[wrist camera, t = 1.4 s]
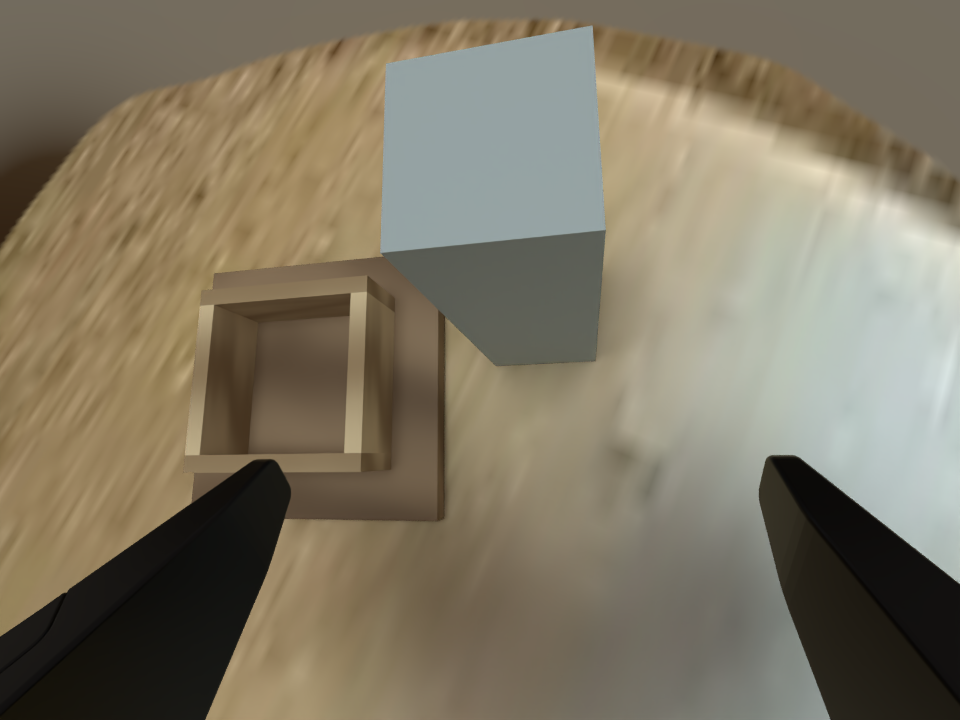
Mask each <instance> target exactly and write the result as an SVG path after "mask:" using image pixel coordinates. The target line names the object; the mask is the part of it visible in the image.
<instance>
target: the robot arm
mask: <svg viewBox="0 0 960 720" xmlns="http://www.w3.org/2000/svg"><path fill="white" fill-rule="evenodd" d="M290 499H291V487H290V484H289V483H288V481H287V479H286V477H285V475H284V473H283V471H282V469H281V467H280V466H279V464H278V462H277V461H275V460H273V459H256V460H253V461H251V462H250V463H248V464H247V465H245V466H244V467H243V468H241V469H240V470H238V471H237V472H235V473H234V474H233V475H231V476H230V477H228V478H227V479H225V480H224V481H223V482H221V483H220V484H218V485H217V486H215V487H214V488H213V489H211V490H210V491H208V492H207V493H205V494H204V495H203V496H201V497H200V498H198V499H197V500H196V501H194V502H193V503H191V504H190V505H188V506H187V507H186V508H184V509H183V510H181V511H180V512H178V513H177V514H176V515H174V516H173V517H171V518H170V519H168V520H167V521H166V522H164V523H163V524H161V525H160V526H158V527H157V528H156V529H154V530H153V531H151V532H150V533H148V534H147V535H146V536H144V537H143V538H141V539H140V540H139V541H137V542H136V543H134V544H133V545H131V546H130V547H129V548H127V549H126V550H124V551H123V552H121V553H120V554H119V555H117V556H116V557H114V558H113V559H111V560H110V561H109V562H107V563H106V564H104V565H103V566H101V567H100V568H99V569H97V570H96V571H94V572H93V573H91V574H90V575H89V576H87V577H86V578H84V579H83V580H82V581H80V582H79V583H77V584H76V585H74V586H73V587H72V588H70V589H69V590H68V592H67V593H63V594H61V595H60V596H59V597H57V598H56V599H54V600H53V601H52V602H50V603H49V604H47V605H46V606H44V607H43V608H42V609H40V610H39V611H37V612H36V613H34V614H33V615H31V616H30V617H28V618H27V619H26V620H24V621H23V622H21V623H20V624H18V625H17V626H15V627H14V628H12V629H11V630H9V631H8V632H7V633H5V634H4V635H2V636H0V720H205V719H206V717H207V714H208V712H209V710H210V707H211V705H212V703H213V700H214V698H215V695H216V693H217V691H218V688H219V686H220V684H221V681H222V679H223V676H224V674H225V672H226V669H227V667H228V665H229V662H230V660H231V657H232V655H233V653H234V650H235V648H236V646H237V643H238V641H239V638H240V636H241V634H242V631H243V629H244V627H245V624H246V622H247V619H248V617H249V615H250V612H251V610H252V608H253V605H254V603H255V600H256V598H257V596H258V593H259V591H260V589H261V586H262V584H263V581H264V579H265V576H266V574H267V571H268V569H269V566H270V563H271V560H272V557H273V554H274V550H275V547H276V544H277V541H278V538H279V534H280V531H281V528H282V525H283V522H284V518H285V515H286V512H287V509H288V505H289V502H290ZM759 501H760V506H761V510H762V514H763V518H764V522H765V526H766V530H767V533H768V537H769V541H770V545H771V549H772V553H773V557H774V561H775V565H776V569H777V573H778V577H779V581H780V584H781V588H782V591H783V594H784V597H785V600H786V603H787V606H788V609H789V611H790V614H791V617H792V619H793V622H794V625H795V627H796V630H797V632H798V635H799V638H800V640H801V643H802V646H803V648H804V651H805V653H806V656H807V659H808V661H809V664H810V667H811V669H812V672H813V674H814V677H815V680H816V682H817V685H818V688H819V690H820V693H821V696H822V698H823V701H824V703H825V706H826V709H827V711H828V714H829V717H830V719H831V720H960V584H959V583H958V582H957V581H955V580H954V579H953V578H952V577H950V576H949V575H948V574H946V573H945V572H944V571H943V570H941V569H940V568H939V567H938V566H936V565H935V564H934V563H932V562H931V561H930V560H929V559H927V558H926V557H925V556H924V555H922V554H921V553H920V552H919V551H917V550H916V549H915V548H913V547H912V546H911V545H910V544H908V543H907V542H906V541H905V540H903V539H902V538H901V537H900V536H898V535H897V534H896V533H894V532H893V531H892V530H891V529H889V528H888V527H887V526H886V525H884V524H883V523H882V522H881V521H879V520H878V519H877V518H875V517H874V516H873V515H872V514H870V513H869V512H868V511H867V510H865V509H864V508H863V507H861V506H860V505H859V504H858V503H856V502H855V501H854V500H853V499H851V498H850V497H849V496H848V495H846V494H845V493H844V492H842V491H841V490H840V489H839V488H837V487H836V486H835V485H834V484H832V483H831V482H830V481H829V480H827V479H826V478H825V477H823V476H822V475H821V474H820V473H818V472H817V471H816V470H815V469H813V468H812V467H811V466H810V465H808V464H807V463H806V462H804V461H803V460H802V459H801V458H799V457H797V456H794V455H771V456H769V457H767V459H766V461H765V465H764V469H763V474H762V478H761V482H760V487H759Z"/></svg>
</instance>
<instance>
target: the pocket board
mask: <svg viewBox="0 0 960 720" xmlns="http://www.w3.org/2000/svg"><path fill="white" fill-rule="evenodd" d="M256 459H273V460H275V461H277V462H278V464H279V466H280V467H281V469H282V471H283V473H284V475H285V477H286V479H287V481H288V483H289V484H290V487H291V499H290V502H289V505H288V509H287V512H286V515H285V518H284V519H341V520H405V521H438V520H441V519H443V518H444V315H443V314H442V313H441V312H440V311H439V310H438V309H437V308H436V307H435V306H434V305H433V304H432V303H431V302H430V301H429V300H428V299H427V298H426V297H425V296H424V295H423V294H422V293H421V292H420V291H419V290H418V289H417V288H416V287H415V286H414V285H413V284H412V283H411V282H410V281H409V280H408V279H407V278H406V277H405V276H404V275H403V274H402V273H400V272H399V271H398V270H397V269H396V268H395V267H394V266H393V265H392V264H391V263H390V262H389V261H388V260H387V259H386V258H385V257H376V258H366V259H356V260H346V261H336V262H326V263H316V264H305V265H295V266H285V267H275V268H265V269H255V270H245V271H235V272H225V273H215V274H214V280H213V290H202V292H201V302H200V312H199V321H198V331H197V341H196V351H195V360H194V370H193V380H192V390H191V399H190V409H189V419H188V429H187V438H186V448H185V458H184V468H183V473H194V483H193V494H192V503H193V502H194V501H196V500H197V499H198V498H200V497H201V496H203V495H204V494H205V493H207V492H208V491H210V490H211V489H213V488H214V487H215V486H217V485H218V484H220V483H221V482H223V481H224V480H225V479H227V478H228V477H230V476H231V475H233V474H234V473H235V472H237V471H238V470H240V469H241V468H243V467H244V466H245V465H247V464H248V463H250V462H251V461H253V460H256Z"/></svg>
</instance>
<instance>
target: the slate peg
mask: <svg viewBox="0 0 960 720" xmlns="http://www.w3.org/2000/svg"><path fill="white" fill-rule="evenodd" d="M605 231H606V229H605V213H604V198H603V182H602V167H601V151H600V136H599V120H598V105H597V89H596V74H595V58H594V43H593V27H592V26H588V27H582V28H577V29H571V30H566V31H561V32H555V33H550V34H544V35H539V36H533V37H528V38H523V39H517V40H512V41H506V42H501V43H495V44H490V45H485V46H479V47H474V48H468V49H463V50H458V51H452V52H447V53H441V54H436V55H430V56H425V57H420V58H414V59H409V60H403V61H398V62H392V63H387V64H386V83H385V117H384V151H383V185H382V219H381V252H380V253H381V254H382V255H383V256H384V257H385V258H386V259H387V260H388V261H389V262H390V263H391V264H392V265H393V266H394V267H395V268H396V269H397V270H398V271H399V272H400V273H402V274H403V275H404V276H405V277H406V278H407V279H408V280H409V281H410V282H411V283H412V284H413V285H414V286H415V287H416V288H417V289H418V290H419V291H420V292H421V293H422V294H423V295H424V296H425V297H426V298H427V299H428V300H429V301H430V302H431V303H432V304H433V305H434V306H435V307H436V308H437V309H438V310H439V311H440V312H441V313H442V314H443V315H444V316H445V317H446V318H447V319H448V320H450V321H451V322H452V323H453V324H454V325H455V326H456V327H457V328H458V329H459V330H460V331H461V332H462V333H463V334H464V335H465V336H466V337H467V338H468V339H469V340H470V341H471V342H472V343H473V344H474V345H475V346H476V347H477V348H478V349H479V350H480V351H481V352H482V353H483V354H484V355H485V356H486V357H487V358H488V359H489V360H490V361H491V362H492V363H493V364H494V365H495V366H505V365H525V364H546V363H566V362H586V361H595V360H596V347H597V334H598V321H599V308H600V295H601V283H602V270H603V257H604V244H605Z"/></svg>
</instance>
